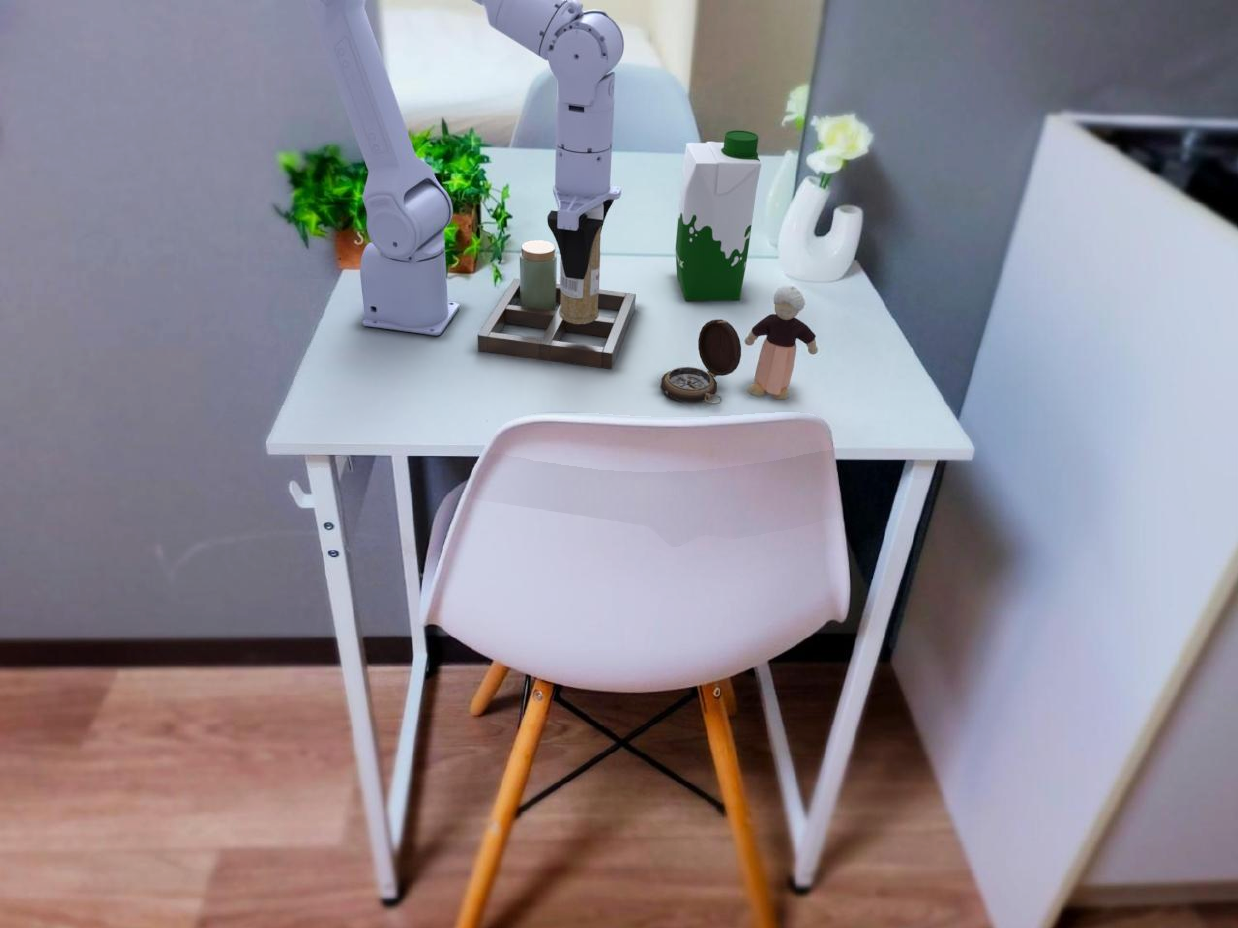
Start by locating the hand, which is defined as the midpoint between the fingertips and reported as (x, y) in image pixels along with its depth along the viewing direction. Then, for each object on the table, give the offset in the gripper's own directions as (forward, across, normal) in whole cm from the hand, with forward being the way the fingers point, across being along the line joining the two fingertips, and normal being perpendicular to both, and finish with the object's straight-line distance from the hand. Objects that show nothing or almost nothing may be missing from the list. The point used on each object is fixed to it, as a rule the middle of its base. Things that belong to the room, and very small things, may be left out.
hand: (579, 268), depth 108 cm
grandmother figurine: (+10, -4, -23) cm, 25 cm away
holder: (+10, +4, +3) cm, 12 cm away
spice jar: (+10, +8, +7) cm, 15 cm away
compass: (+10, -6, -15) cm, 19 cm away
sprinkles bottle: (+6, 0, 0) cm, 6 cm away
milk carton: (+10, +20, -13) cm, 26 cm away
